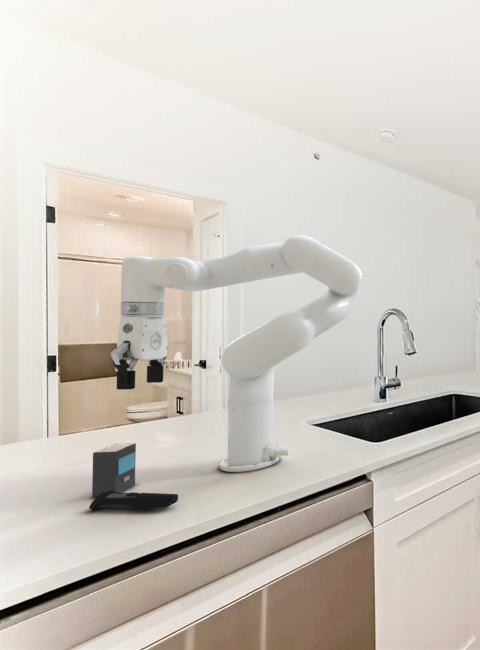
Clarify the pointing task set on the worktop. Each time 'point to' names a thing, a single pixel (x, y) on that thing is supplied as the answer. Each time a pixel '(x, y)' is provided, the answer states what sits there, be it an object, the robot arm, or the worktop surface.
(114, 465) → the dark grey box
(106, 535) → the worktop surface
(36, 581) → the worktop surface
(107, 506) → the electric trimmer
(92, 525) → the worktop surface
